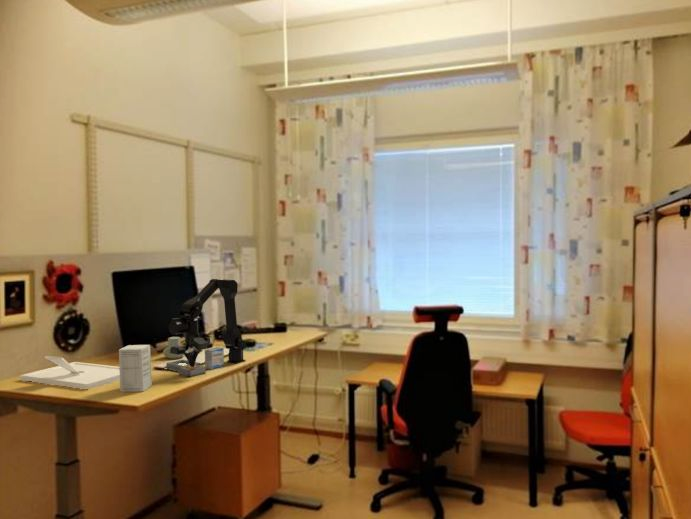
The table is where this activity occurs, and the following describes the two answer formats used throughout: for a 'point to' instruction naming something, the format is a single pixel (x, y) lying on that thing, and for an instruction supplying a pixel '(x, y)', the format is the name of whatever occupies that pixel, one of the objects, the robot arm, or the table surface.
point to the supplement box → (135, 368)
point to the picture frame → (74, 374)
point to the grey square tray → (175, 366)
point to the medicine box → (214, 358)
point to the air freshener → (172, 342)
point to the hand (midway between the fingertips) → (192, 366)
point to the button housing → (192, 371)
